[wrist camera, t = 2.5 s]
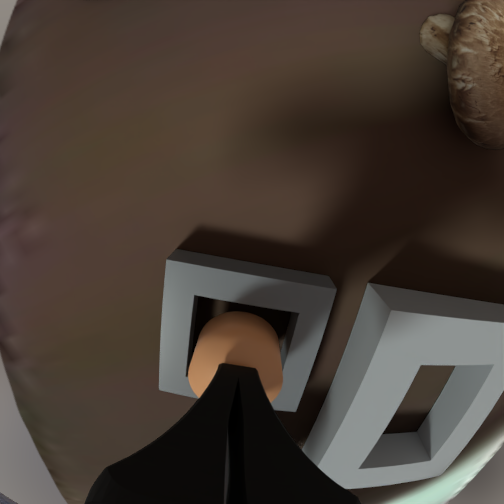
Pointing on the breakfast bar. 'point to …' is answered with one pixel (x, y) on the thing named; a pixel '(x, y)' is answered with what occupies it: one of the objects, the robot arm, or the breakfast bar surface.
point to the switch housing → (245, 292)
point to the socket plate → (398, 382)
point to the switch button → (237, 351)
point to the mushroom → (472, 66)
